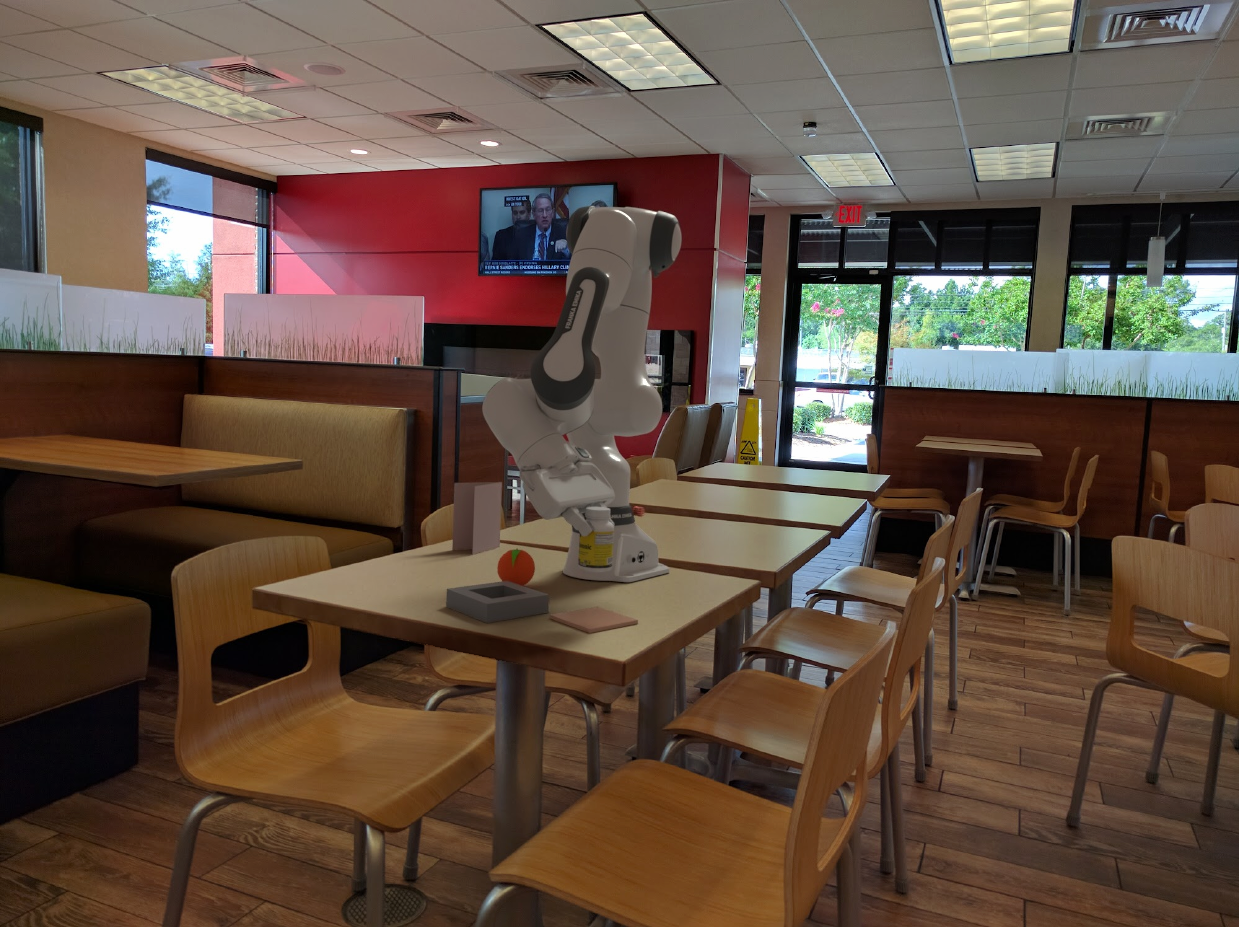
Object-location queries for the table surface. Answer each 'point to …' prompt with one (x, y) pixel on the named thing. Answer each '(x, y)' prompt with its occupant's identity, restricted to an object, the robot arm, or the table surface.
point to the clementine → (516, 567)
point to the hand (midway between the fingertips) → (600, 531)
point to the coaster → (593, 619)
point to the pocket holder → (497, 601)
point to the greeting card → (477, 516)
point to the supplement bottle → (597, 542)
